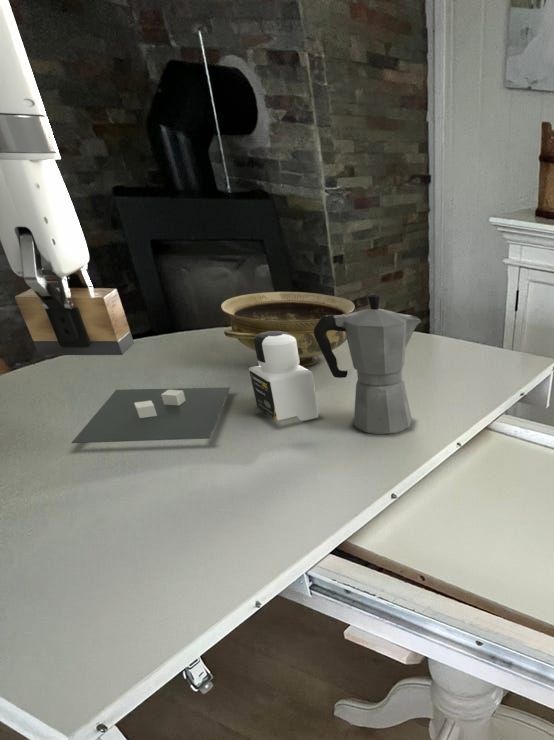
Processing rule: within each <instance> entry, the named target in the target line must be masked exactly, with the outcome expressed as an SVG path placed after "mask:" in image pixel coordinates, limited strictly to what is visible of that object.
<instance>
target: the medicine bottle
mask: <svg viewBox="0 0 554 740" xmlns="http://www.w3.org/2000/svg"><path fill="white" fill-rule="evenodd" d="M254 345H255V350H256V351H255V350H254V351H255V355H256V359H257V363H258V364H257V365H255V366H250V367H249V368H248V371H249V376H250V379H251V385H252V389H253V395H254V399H255V404H256V405H255V406H256V408H257V409H259V410H260V411H262V412H263V413H264V414H265V415H267V416H269V417H270V418H272V419H273V420H275V421H281V420H285V419H289V418H294V417H297V418H298V419H299V421H300V422H306V421H310V420H315V419H318V418H319V409H318V404H317V403H318V402H317V396H316V390H315V382H314V376H313V372H312V371H311V370H310V369H308V368H305V366H300V365H298V364H299V363H300V361H299V354H298V348H297V342H296V338H295V337H294V336H293V335H292V334H289V333H287V332H282V331H269V332H263V333H261V334H259V335H257V336H256V337H255V338H254Z"/></svg>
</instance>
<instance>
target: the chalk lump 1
mask: <svg viewBox="0 0 554 740" xmlns="http://www.w3.org/2000/svg"><path fill="white" fill-rule="evenodd" d="M134 404H135V407H136V410H137V413H138V415H139V418H146V417H153V416H157V414H156V411H155V408H154V405H153V403H152V401H144V402H136V403H134Z"/></svg>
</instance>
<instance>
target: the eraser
mask: <svg viewBox="0 0 554 740" xmlns="http://www.w3.org/2000/svg"><path fill="white" fill-rule="evenodd" d="M56 288H57V289H58V291H59V292H60V290H59V287H56ZM69 291H70V295H71V298H72V302H73V307H78V309H79V312H80V314H81V317H82V320H83V323H84V326H85V328H86V331H87V334H88V337H89V339H90V342H91V345H90V346H89V347H61V346H60V345H59V343H58V340H57V338H56V335H55V333H54V330H53V328H52V325H51V323H50V320H49V318H48V315H47V313H46V310H45V309H44V308H43V307H42V305H41V302H40V298H39V297H38V296H37V294H36V293H35V292H34V290H33V289H32V288H31V287H30V288H29V289H28V290H27V289H26V291H23V292H21V293H20V294H17V295H15V296H14V299H15V301H16V303H17V306H18V308H19V310H20V313H21V315H22V318H23V320H24V322H25V324H26V325H25V326H26V327H27V329H28V332H29V334H30V336H31V339H32V342H33V344H34V346H35V348H36V351H37V353H38V355H39V356H123V355H124V354H125V353H126V352H127V351H129V349H130V348H131V347H132V346H133V345H134V344H135V342H134V339H133V336H132V333H131V330H130V326H129V323H128V321H127V316H126V313H125V310H124V307H123V305H122V300H121V298H120V295H119V292H118V288H107V287H106V288H105V287H100V288H99V287H95V288H94V287H93V288H69Z"/></svg>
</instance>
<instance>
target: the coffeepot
mask: <svg viewBox="0 0 554 740" xmlns="http://www.w3.org/2000/svg"><path fill="white" fill-rule="evenodd" d="M380 298H381V296H380V295H379V294H377V293H371V294H369V295H368V296H367V299H368V303H369V307H370V308H366V309H363V310H359V311H353V312H352V313H350V314H347V315H324V316H322V317H321V319H320V320H319V322H318V323H317V325H316V326H315V328H314V336H315V339H316V341H317V343H318V345H319V347H320V349H321V351H322V353H323V354H322V356H323V358H324V360H325V362H326V363H327V364H326V365H327V366H328V368H329V370H330V373H331V375H332V376H333V377H334V378H338V379H343V378H347V377H348V372H349V371H348V370H343V369H340V368H339V366H338V359H337V357H336V356H335V354H334V352H333V350H332V349H331V345H330V341H329V339H328V337H327V336H326V333H327V331H328V330H335V331H344V332H345V333H346V337H347V340H346V342H347V345H348V349H349V354H350V357H351V358H350V359H351V362H352V367H353V369H354V370H356V374H357V380H356V383H355V399H354V416H353V426H355V428H357V429H358V430H360V431H362V432H364V433H367V434H373V435H392V434H397V433H401V432H404V431H406V430H407V429H408V428H410V426H411V423H412V419H413V418H412V414H411V409H410V404H409V398H408V394H407V390H406V385H405V384H406V383H405V380H404V379H403V369H404V366H405V359H406V358H405V357H406V349H407V346H408V343H409V342H410V339H411V338H412V335H413V333H414V331H415V330H416V328H417V326H418V325H419V324H421V323H422V320H421V319H420V318H419V317H417V316H416V315H415V316H413V315H411V314H404V313H399V312H394V311H390V310H387V309H383V308H380Z"/></svg>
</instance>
